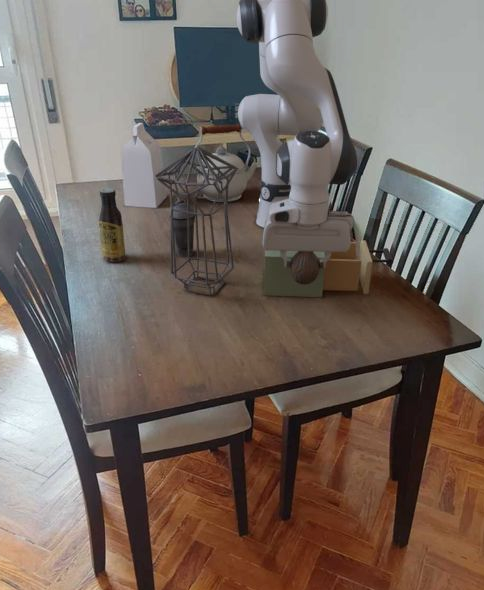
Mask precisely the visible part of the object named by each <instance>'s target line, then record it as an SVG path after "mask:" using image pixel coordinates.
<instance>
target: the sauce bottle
mask: <svg viewBox="0 0 484 590" xmlns="http://www.w3.org/2000/svg"><path fill="white" fill-rule="evenodd" d="M116 195H117V193H116V189H115V188H112V187H103V188H100V189H99V196H100V202H101V209H100V213H99V218H98V227H99V234H100V243H101V244H100V245H101V252H102V255H103V260H104V261H105V262H108V263H119V262H121V261H123V260H125V258H126V246H125V245H126V243H125V235H124V234H125V233H124V225H123V217H122V213H121V210H119V208H118V206H117V200H116Z"/></svg>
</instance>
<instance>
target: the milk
mask: <svg viewBox="0 0 484 590" xmlns="http://www.w3.org/2000/svg"><path fill="white" fill-rule="evenodd" d="M120 159H121V172H122V173H121V174H122V187H123V201H124V207H135V208H136V207H137V208H152V209H157V208H158V207H159V206H160V205H161V204H162V203H163V202H164V201H165V200H166V198H167V189H166V186H165V185H163V184H162V183H161V182H160V181H158V180H157V179H156V178H155V175H156V174H157V173H159V172H160V171H162V170H163V169H164V165H163V157H162V149H161V145H160V143H159V142H158V141H157V140H156V139H154V138H153V136H152V135H151V134H150V133H148V131H146V128H145V125H144V123H143V122H138V123H137V124H135V125H133V126H132V137H131V138H130V139H129V140H128V141H127V142H126V143H125V144H124V146H123V147H122V149H121V152H120ZM161 177H162V178H165V175H164V176H161ZM163 182H164V181H163Z"/></svg>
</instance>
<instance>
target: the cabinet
mask: <svg viewBox="0 0 484 590" xmlns="http://www.w3.org/2000/svg"><path fill="white" fill-rule="evenodd" d="M297 252H298V251H286V256H287V258H291V261H292V258H293V256H294V255H295V254H296V253H297ZM313 252H314V253H315V255H316V256H317V258H318V261H319V259H323V258H324V256H325V252H316V251H313ZM324 269H325V268H319V273H318V276H317V278H316V279H315V280H314V281H313V282H312V283H310V284H307V285H302V284H299V283H297V282H296V281H295V280H294V279H293V278H292V276H291V272H290V267H284V260H283V258H282V257H281V255H280V251H278V250H265V249H264V273H263V274H264V275H263V277H264V279H263V280H264V281H263V296H271V297H273V296H274V297H307V298H309V297H310V298H311V297H312V298H322V297H323V291H324V290H323V281H324Z"/></svg>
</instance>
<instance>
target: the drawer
mask: <svg viewBox="0 0 484 590" xmlns="http://www.w3.org/2000/svg"><path fill="white" fill-rule="evenodd" d="M359 245H360V247H359V254H358V259H356V258H355V257H356V251H357V242H356V241H350V249H349V250H348V251H347V252H332V254H331V257H330V258H329V260H328V261H327V262H326V268H325V269H324V281H323V291H346V292H347V291H348V292H349V291H350V292H358V291H359V286H360V285H361V289H362V293H363V295H368V294H369V291H370V283H371V277H372V270H373V263H384V264H386V265H388V266H391V265H393V264H394V260H393V257H392V255H391V251H390V250H389V248H388V247H385V248H383V249H369V247H368V243H367V241H366V240H364V239H361V240H360V244H359ZM371 253H372V254H373V253H374V254H383V256H384V259H382V258H381V259H380V258H379V259H378V258H377V259H376V258H372V257H371ZM359 283H360V285H359Z"/></svg>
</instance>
